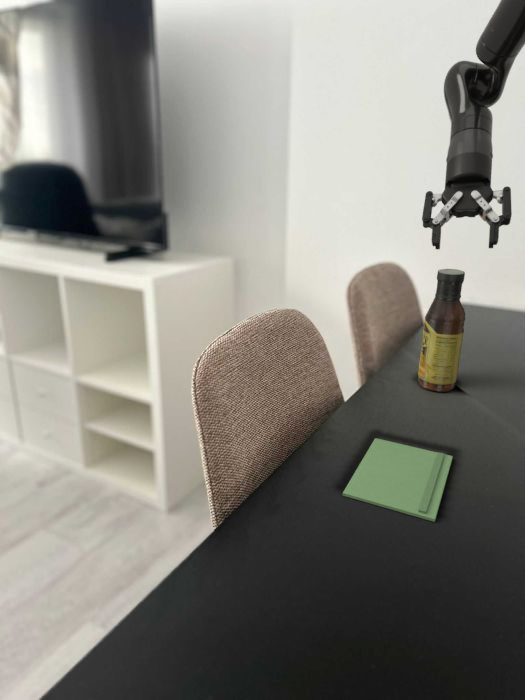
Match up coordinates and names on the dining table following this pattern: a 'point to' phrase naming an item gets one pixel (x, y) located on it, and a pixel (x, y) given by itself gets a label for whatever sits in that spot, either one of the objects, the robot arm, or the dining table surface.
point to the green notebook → (401, 479)
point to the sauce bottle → (443, 334)
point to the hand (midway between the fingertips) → (463, 247)
